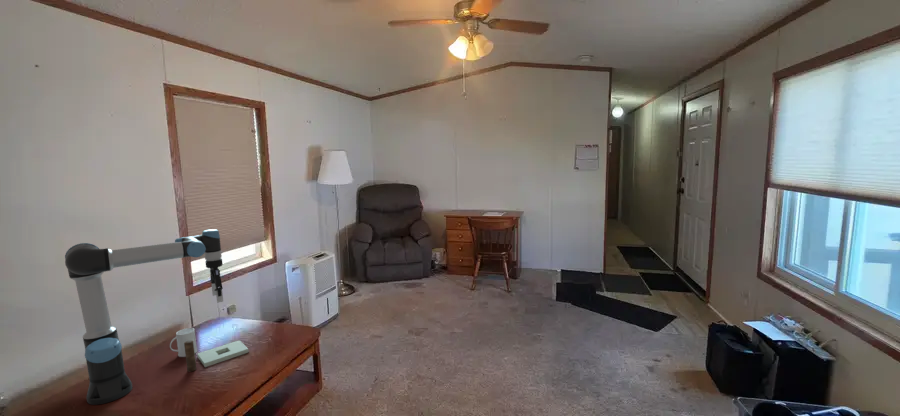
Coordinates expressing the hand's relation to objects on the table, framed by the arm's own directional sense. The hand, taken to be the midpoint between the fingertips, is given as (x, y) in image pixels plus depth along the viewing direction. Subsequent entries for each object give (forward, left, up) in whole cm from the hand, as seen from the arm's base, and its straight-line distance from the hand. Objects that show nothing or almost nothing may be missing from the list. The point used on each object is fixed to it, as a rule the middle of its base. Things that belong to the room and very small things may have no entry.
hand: (217, 298), depth 213 cm
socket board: (-3, -10, -27) cm, 29 cm away
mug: (-17, +6, -27) cm, 32 cm away
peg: (-18, -15, -27) cm, 36 cm away
